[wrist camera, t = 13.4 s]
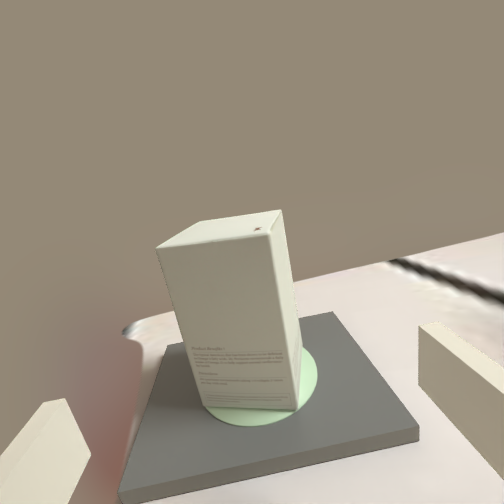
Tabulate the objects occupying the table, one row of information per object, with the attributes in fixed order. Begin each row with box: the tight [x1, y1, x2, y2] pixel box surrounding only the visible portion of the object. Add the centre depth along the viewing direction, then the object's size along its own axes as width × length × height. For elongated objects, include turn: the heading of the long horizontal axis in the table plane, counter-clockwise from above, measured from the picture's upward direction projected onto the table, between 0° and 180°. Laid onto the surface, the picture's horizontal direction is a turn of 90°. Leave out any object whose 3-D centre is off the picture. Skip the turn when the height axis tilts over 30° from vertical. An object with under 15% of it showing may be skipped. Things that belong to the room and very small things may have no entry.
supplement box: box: [155, 210, 303, 410], centre depth 21 cm, size 7×7×13 cm
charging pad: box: [117, 312, 419, 504], centre depth 23 cm, size 18×14×1 cm
